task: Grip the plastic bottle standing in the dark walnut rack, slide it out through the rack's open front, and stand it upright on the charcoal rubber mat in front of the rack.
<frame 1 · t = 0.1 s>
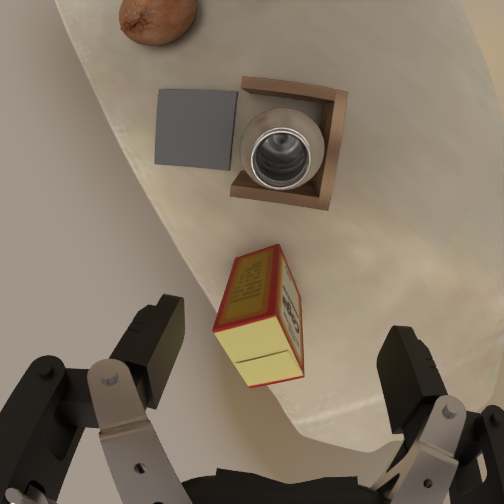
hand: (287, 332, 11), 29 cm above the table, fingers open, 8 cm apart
onion: (170, 19, 29), on the table
rubber mat: (194, 127, 35), on the table
walnut rack: (282, 136, 35), on the table
plastic bottle: (282, 136, 35), on the table
baking soda box: (269, 278, 44), on the table
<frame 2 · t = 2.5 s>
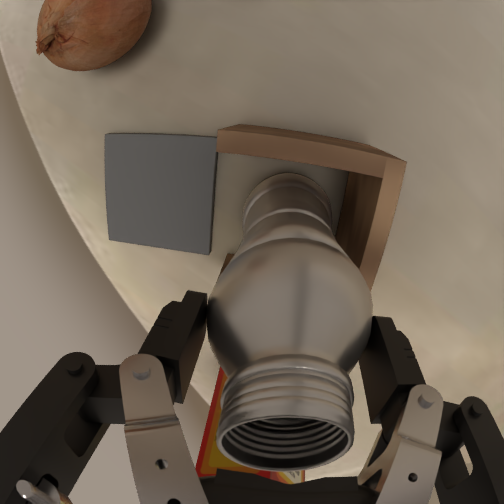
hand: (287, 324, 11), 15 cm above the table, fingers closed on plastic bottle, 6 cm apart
onion: (120, 25, 18), on the table
rubber mat: (158, 191, 25), on the table
walnut rack: (287, 206, 24), on the table
plastic bottle: (287, 206, 25), on the table, touching gripper
baking soda box: (266, 372, 34), on the table
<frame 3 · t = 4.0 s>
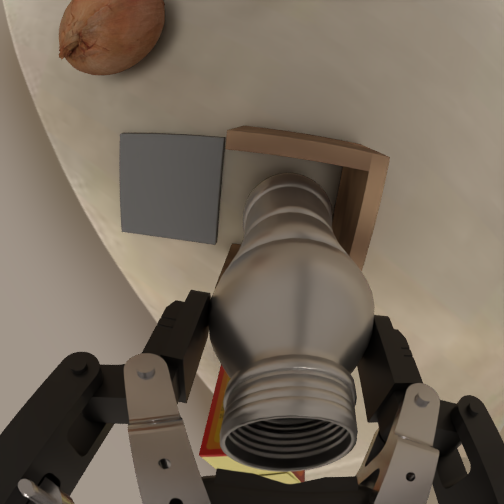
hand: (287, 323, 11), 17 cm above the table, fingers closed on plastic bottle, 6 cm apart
onion: (134, 33, 21), on the table
rubber mat: (169, 186, 27), on the table
walnut rack: (286, 200, 27), on the table
plastic bottle: (287, 205, 25), point 3 cm above the table, touching gripper
baking soda box: (267, 358, 36), on the table
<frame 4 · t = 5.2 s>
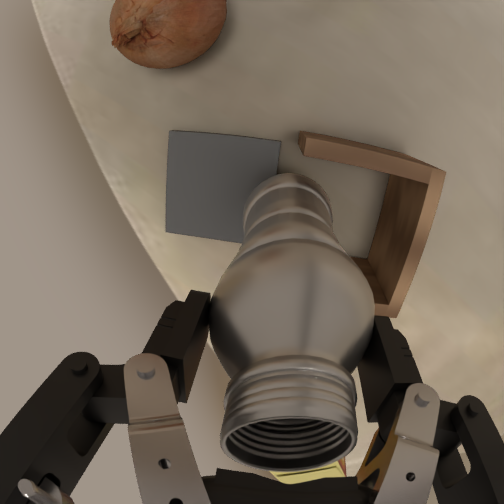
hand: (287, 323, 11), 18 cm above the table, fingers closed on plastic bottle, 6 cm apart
onion: (184, 27, 21), on the table
rubber mat: (219, 187, 28), on the table
walnut rack: (336, 205, 27), on the table
plastic bottle: (287, 205, 25), point 3 cm above the table, touching gripper
baking soda box: (303, 358, 36), on the table
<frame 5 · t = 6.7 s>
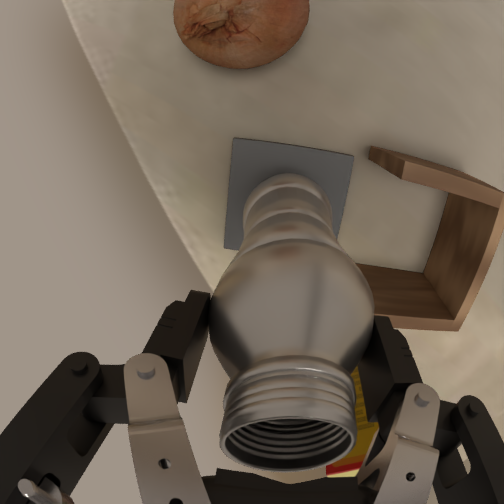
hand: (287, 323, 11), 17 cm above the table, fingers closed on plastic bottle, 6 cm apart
onion: (248, 25, 20), on the table
rubber mat: (286, 201, 26), on the table
walnut rack: (400, 221, 26), on the table
plastic bottle: (287, 206, 25), point 2 cm above the table, touching gripper
baking soda box: (352, 369, 35), on the table
when the fingers open (16 cm above the table, at t = 7.6 s): plastic bottle stays where it is, resting on rubber mat.
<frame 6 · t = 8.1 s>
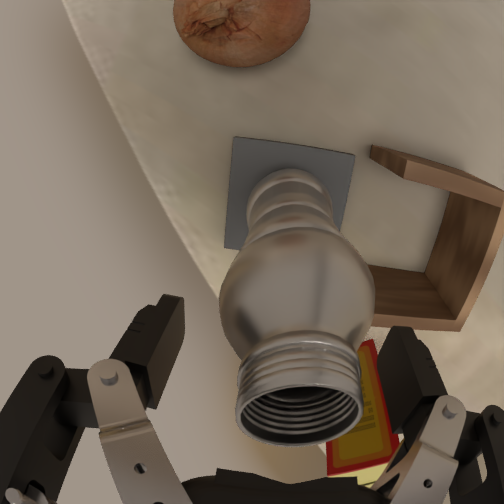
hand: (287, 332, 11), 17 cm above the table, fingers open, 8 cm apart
onion: (248, 23, 20), on the table
rubber mat: (286, 200, 26), on the table
walnut rack: (402, 220, 26), on the table
plastic bottle: (288, 200, 25), point 1 cm above the table, touching rubber mat
baking soda box: (353, 370, 35), on the table
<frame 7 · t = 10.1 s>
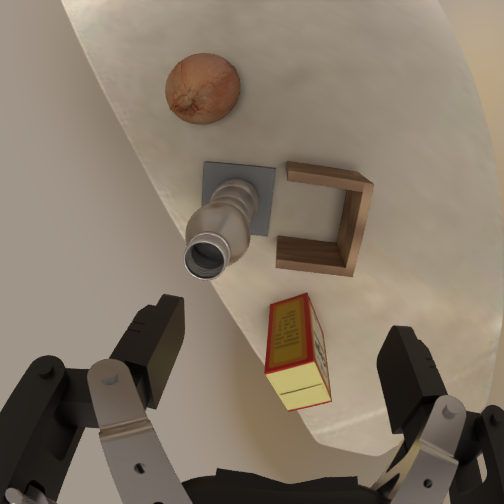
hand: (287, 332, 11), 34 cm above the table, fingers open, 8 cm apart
onion: (210, 91, 37), on the table
rubber mat: (237, 198, 43), on the table
walnut rack: (313, 207, 43), on the table
plastic bottle: (237, 197, 43), point 1 cm above the table, touching rubber mat
baking soda box: (297, 319, 52), on the table
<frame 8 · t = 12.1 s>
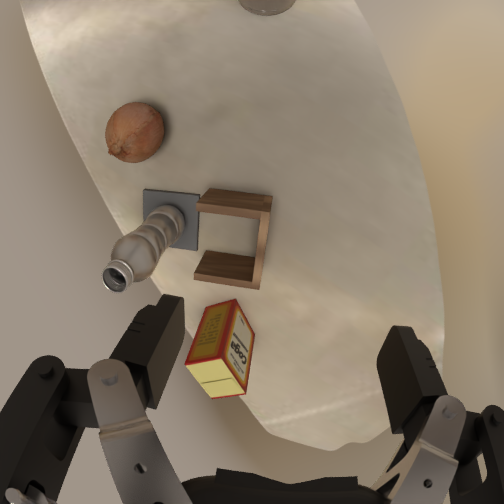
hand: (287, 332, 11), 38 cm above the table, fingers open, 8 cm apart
onion: (146, 129, 45), on the table
rubber mat: (171, 219, 51), on the table
walnut rack: (233, 227, 51), on the table
plastic bottle: (170, 219, 50), point 1 cm above the table, touching rubber mat
baking soda box: (230, 320, 60), on the table
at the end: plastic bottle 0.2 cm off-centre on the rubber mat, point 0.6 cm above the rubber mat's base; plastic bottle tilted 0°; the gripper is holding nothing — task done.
